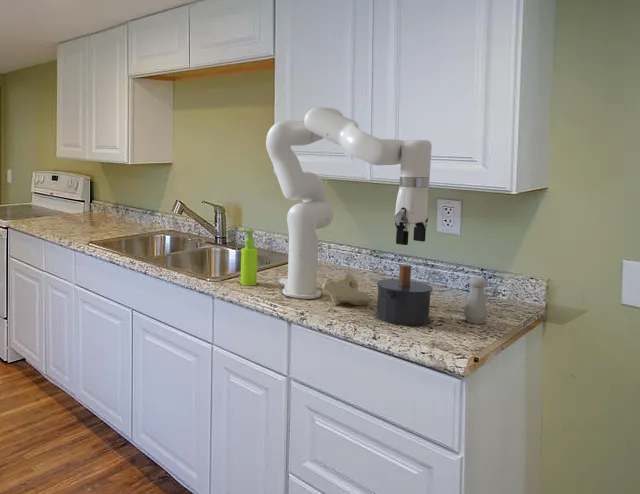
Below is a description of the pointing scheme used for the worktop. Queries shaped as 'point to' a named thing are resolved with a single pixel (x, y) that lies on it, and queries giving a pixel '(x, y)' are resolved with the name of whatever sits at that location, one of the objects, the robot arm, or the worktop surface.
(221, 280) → the worktop surface
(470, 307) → the salt shaker
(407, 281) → the lid
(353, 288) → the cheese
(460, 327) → the worktop surface
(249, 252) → the soap dispenser
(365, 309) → the worktop surface
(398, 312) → the pot
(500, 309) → the worktop surface
